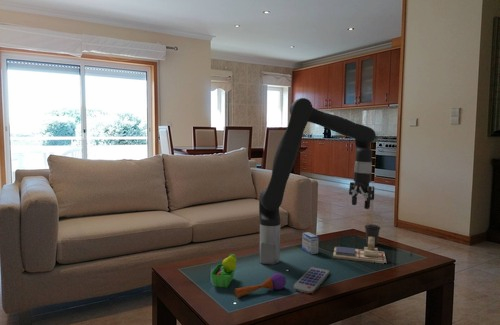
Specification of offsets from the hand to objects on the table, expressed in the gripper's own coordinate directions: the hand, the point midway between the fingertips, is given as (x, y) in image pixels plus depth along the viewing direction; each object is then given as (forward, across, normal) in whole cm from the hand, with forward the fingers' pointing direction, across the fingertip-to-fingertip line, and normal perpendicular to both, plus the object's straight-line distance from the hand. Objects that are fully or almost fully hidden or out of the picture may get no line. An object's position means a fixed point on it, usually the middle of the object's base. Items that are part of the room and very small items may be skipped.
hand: (360, 206), depth 162 cm
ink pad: (+24, -8, 0) cm, 25 cm away
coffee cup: (+25, -17, +24) cm, 38 cm away
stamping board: (+25, -4, +5) cm, 26 cm away
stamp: (+24, -1, +9) cm, 25 cm away
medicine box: (+26, -18, -14) cm, 34 cm away
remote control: (+26, +12, -32) cm, 44 cm away
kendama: (+27, +14, -55) cm, 63 cm away
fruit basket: (+27, +1, -65) cm, 70 cm away
